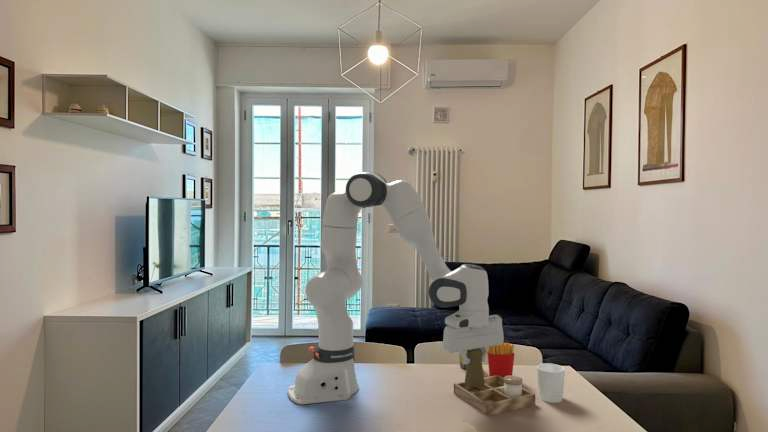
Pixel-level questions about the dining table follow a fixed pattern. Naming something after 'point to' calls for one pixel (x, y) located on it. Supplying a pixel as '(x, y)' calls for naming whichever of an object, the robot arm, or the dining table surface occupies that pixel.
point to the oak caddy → (492, 396)
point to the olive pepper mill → (474, 368)
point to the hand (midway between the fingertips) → (474, 362)
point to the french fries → (501, 360)
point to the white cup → (550, 382)
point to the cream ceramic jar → (513, 386)
